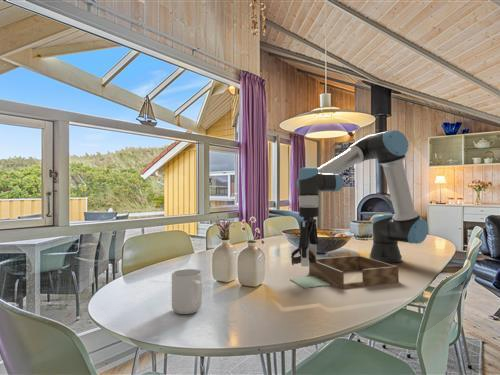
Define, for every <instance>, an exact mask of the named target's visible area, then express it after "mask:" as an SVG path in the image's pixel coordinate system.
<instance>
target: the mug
mask: <svg viewBox="0 0 500 375" xmlns="http://www.w3.org/2000/svg"><path fill="white" fill-rule="evenodd" d="M202 294H203V282H202V271H201V270H199V269H195V268H194V269H193V268H185V269H177V270H175V271H173V272H171V309H172V310H173V312H175V313H177V314H180V315H188V314H193V313H195V312H198V311H199V309H200V308H202V304H203V302H202V301H203V300H202V299H203V298H202V297H203V296H202Z"/></svg>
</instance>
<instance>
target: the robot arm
mask: <svg viewBox="0 0 500 375" xmlns="http://www.w3.org/2000/svg"><path fill="white" fill-rule="evenodd" d="M408 151H409V140H408V138H407V137H406V135H405V134H404V133H403V132H401V131H400V130H395V129H394V130H386V131H383V132H378V133H375V134H369V135H366V136H365V137H363V138H361V139H359V140H357V141H356V142H354V143H353V144H351V145H350V146H348V147H347V148H346V150H345V151H344V152H342V153H340V154H339V155H337V156H335V157H334V158H332V159H331V160H329V161H328V162H326V163H324V164H322V165H320V167H315V166H314V167H313V166H311V167H310V166H307V167H301V168H299V171H298V177H297V179H296V183H295V184H296V188H297V189H298V198H297V201H298V202H299V204H298V205H299V208H298V216H299V217H302V218H303V220H301V221H300V229H299V230H300V231H299V242H298V248H299V249H301V255H300V256H301V263H300V266H301V267H307V268H309V250H310V251H312V252H313V254H314V255H315V258H316V261H317V259H318V258H317V245H319V244H320V242H319V239H318V227H317V219H316V218H317V217H319V213H320V212H319V206H320V205H319V192H321V193H326V192H327V193H328V192H331V193H337V192H339V191H341V190H342V189H343V187H344V179H343V176H342V175H341V174H342V173H343V172H345V171H346V170H348V169H349V168H351V167H352V166H354V165H356V164H357V165H358V164H361V163H363V162H365V161H369V160H374V159H375V160H376V161H377V163H378V164H379V165H380V166H382V168H383V173H384V176H385V179H386V180H385V181H386V184H387V188H388V192H389V196H390V199H391V204H392V208H393V212H394V214H392V213H390V214H380V215H374V216H373V217H372V223H371V224H372V247H371V250H370V252H369V258H370V259H374V260H377V261H381V262H384V263H388V264H390V263H391V264H393V263H401V262H402V261H403V258H402V257H403V256H402V255H401V251H400V248H399V246H398V243H399V242H401V243H408V244H416V245H417V244H421V243H423V242H424V241H425V240H426V238H427V236H428V233H429V224H428V221H426V219H424V218H421V215H420V213H419V212H418V210H415V206H414V203H413V197H412V193H411V191H410V186H409V182H408V179H407V175H406V174H407V173H406V170H405V165H404V160H405V159H406V154H407V153H408ZM309 243H310V244H309Z"/></svg>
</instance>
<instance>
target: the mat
mask: <svg viewBox="0 0 500 375" xmlns="http://www.w3.org/2000/svg"><path fill="white" fill-rule="evenodd" d="M289 280H290V281H291V282H293V283H295V284H297V285H298V286H300V287H302V288H303V289H309V288H317V287H326V286H327V287H329V286H331V283H329V282H327V281H325V280H323V279H320V278H318V277H316V276H314V275H312V276H306V277H295V278H294V277H293V278H290V279H289Z"/></svg>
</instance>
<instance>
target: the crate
mask: <svg viewBox="0 0 500 375" xmlns="http://www.w3.org/2000/svg"><path fill="white" fill-rule="evenodd" d="M316 262H317V266H316V265H315V263H310V262H309V266H308V273H309V274H310V275H312V276H314V277H316V278H319V279H321V280H323V281H325V282H327V283H329V284H330V285H333V286H335V287H337V288H339V289H340V290H341V289H349V288H358V287H366V286H367V287H368V286H375V285H383V284H384V285H385V284H392V283H399V282H400V281H399V278H400V277H399V265H398V266H397V265H394V264H392V263H391V264H390V263H388V262H381V261H377V260H374V259H370V257H366V256H362V255H347V256H346V255H344V256H334V257H333V256H332V257H323V258H322V257H320V258H319V257H318V258H317V261H316ZM348 270H361V271H362V280H361V281H353V282H345V278H344V276H345V274H344V273H345V272H344V271H348Z"/></svg>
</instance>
